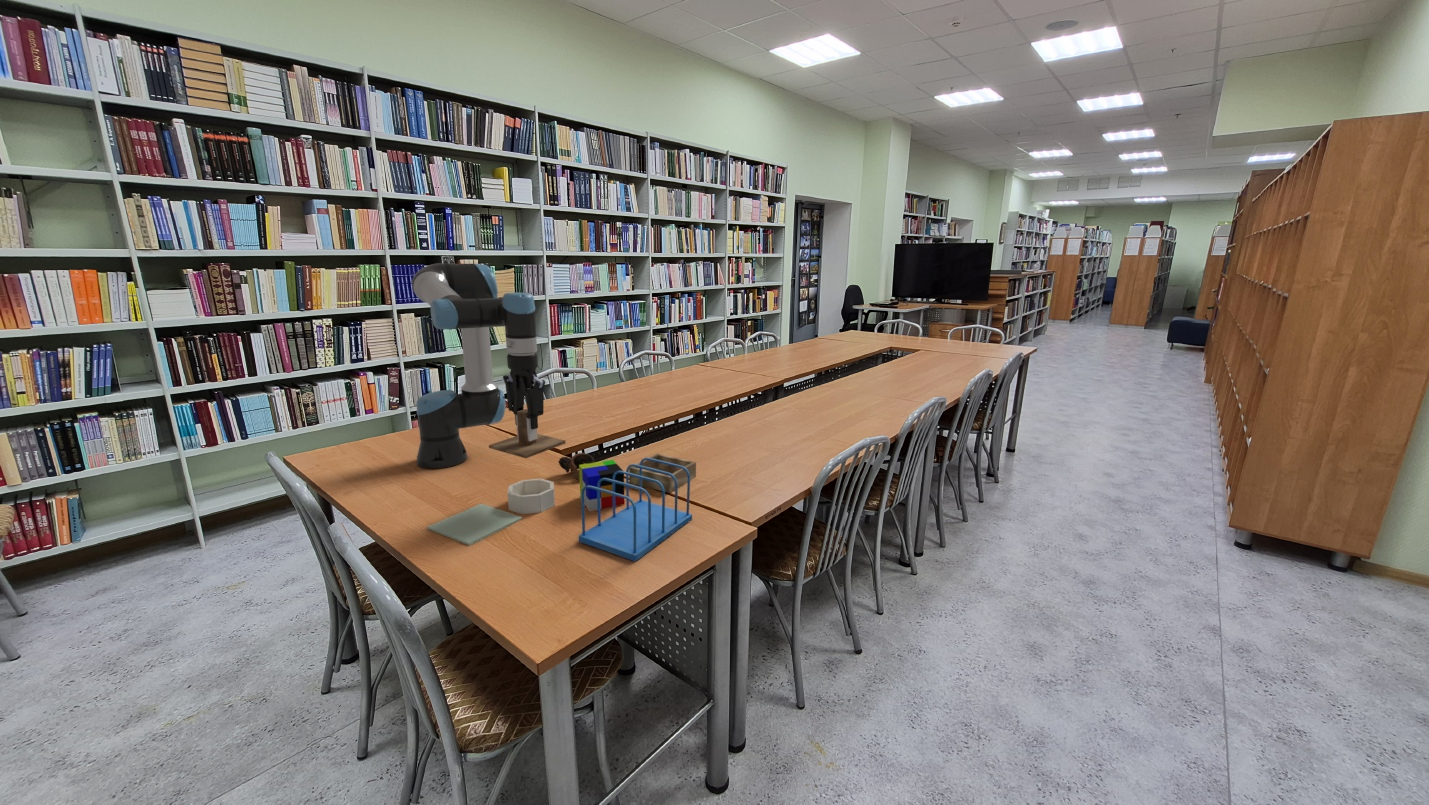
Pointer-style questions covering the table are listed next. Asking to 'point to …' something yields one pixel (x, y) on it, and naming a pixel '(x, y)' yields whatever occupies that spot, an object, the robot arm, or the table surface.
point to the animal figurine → (574, 463)
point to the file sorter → (635, 518)
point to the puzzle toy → (601, 484)
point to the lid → (526, 441)
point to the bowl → (531, 496)
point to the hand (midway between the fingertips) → (527, 438)
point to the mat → (474, 524)
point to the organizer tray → (663, 479)
